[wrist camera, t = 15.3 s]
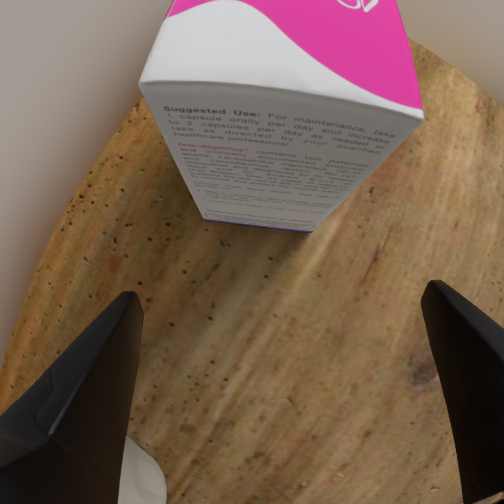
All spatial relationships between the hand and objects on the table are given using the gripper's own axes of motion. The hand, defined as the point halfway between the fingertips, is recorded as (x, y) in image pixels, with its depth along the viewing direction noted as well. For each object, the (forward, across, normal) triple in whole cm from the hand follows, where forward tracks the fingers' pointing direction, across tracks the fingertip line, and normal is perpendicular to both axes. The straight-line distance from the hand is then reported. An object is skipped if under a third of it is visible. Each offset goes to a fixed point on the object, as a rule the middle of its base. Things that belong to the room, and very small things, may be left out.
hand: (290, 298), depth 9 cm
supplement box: (+9, 0, 0) cm, 9 cm away
